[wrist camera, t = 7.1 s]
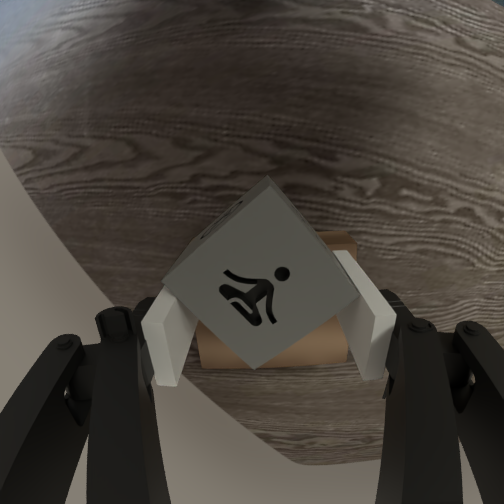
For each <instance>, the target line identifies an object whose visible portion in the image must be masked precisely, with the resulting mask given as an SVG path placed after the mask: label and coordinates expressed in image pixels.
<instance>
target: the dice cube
mask: <svg viewBox="0 0 504 504" xmlns="http://www.w3.org/2000/svg"><path fill="white" fill-rule="evenodd" d="M161 282H162V283H163V284H164V285H165V286H166V287H167V288H168V289H169V290H170V291H171V292H172V293H173V294H174V295H175V296H176V297H177V298H178V299H179V300H180V301H181V302H182V303H183V304H184V305H185V306H186V307H187V308H188V309H189V310H190V311H191V312H192V313H193V314H194V315H195V316H196V317H197V318H198V319H199V320H200V321H201V322H202V323H203V324H204V325H205V326H206V327H207V328H209V329H210V330H211V331H212V332H213V333H214V334H215V335H216V336H217V337H218V338H219V339H220V340H221V341H222V342H223V343H225V344H226V345H227V346H228V347H229V348H230V349H231V350H232V351H233V352H234V353H235V354H237V355H238V356H239V357H240V358H241V359H242V360H243V361H244V362H245V363H247V364H248V365H249V366H250V367H251V368H252V369H253V370H255V369H256V368H258V367H260V366H261V365H263V364H264V363H266V362H267V361H269V360H270V359H272V358H273V357H275V356H277V355H278V354H280V353H281V352H283V351H284V350H286V349H287V348H289V347H290V346H292V345H293V344H294V343H296V342H297V341H299V340H300V339H302V338H303V337H305V336H306V335H308V334H309V333H310V332H312V331H313V330H315V329H316V328H317V327H319V326H320V325H322V324H323V323H324V322H326V321H327V320H329V319H330V318H331V317H333V316H334V315H335V314H337V313H338V312H339V311H341V310H342V309H344V308H345V307H346V306H348V305H349V304H350V303H351V302H353V301H354V300H355V299H357V298H358V297H359V296H360V295H359V293H358V292H357V290H356V289H355V287H354V285H353V284H352V282H351V281H350V279H349V278H348V276H347V274H346V273H345V271H344V270H343V268H342V267H341V265H340V264H339V262H338V261H337V259H336V258H335V256H334V255H333V253H332V252H331V250H330V249H329V248H328V247H327V245H326V244H325V243H324V242H323V240H322V239H321V238H320V237H319V235H318V234H317V233H316V232H315V230H314V229H313V228H312V227H311V225H310V224H309V223H308V222H307V221H306V219H305V218H304V217H303V216H302V215H301V213H300V212H299V211H298V210H297V208H296V207H295V206H294V205H293V204H292V203H291V201H290V200H289V199H288V198H287V197H286V195H285V194H284V193H283V192H282V191H281V190H280V188H279V187H278V186H277V185H276V184H275V183H274V181H273V180H272V179H271V178H270V177H269V176H268V175H267V176H265V177H264V178H263V179H262V180H261V181H259V182H258V183H257V184H256V185H255V186H254V187H252V188H251V189H250V190H249V191H248V192H247V193H245V194H244V195H243V196H242V197H241V198H240V199H238V200H237V201H236V202H235V203H234V204H233V205H232V206H230V207H229V208H228V209H227V210H226V211H225V212H224V213H222V214H221V215H220V216H219V217H218V218H217V219H216V220H214V221H213V222H212V223H211V224H210V225H209V226H208V227H207V228H205V229H204V230H203V231H202V232H201V233H200V234H199V235H198V236H197V237H195V238H194V239H193V240H192V241H191V242H190V243H189V245H188V246H187V247H186V249H185V250H184V251H183V252H182V254H181V255H180V256H179V258H178V259H177V260H176V262H175V263H174V264H173V266H172V267H171V268H170V270H169V271H168V272H167V274H166V275H165V276H164V278H163V279H162V280H161Z"/></svg>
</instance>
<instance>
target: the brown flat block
mask: <svg viewBox="0 0 504 504" xmlns="http://www.w3.org/2000/svg"><path fill="white" fill-rule="evenodd" d="M316 233H317V234H318V235H319V237H320V238H321V239H322V240H323V242H324V243H325V244H326V245H327V247H328V248H329V249H330V250H331V252H332V251H338V250H347V251H348V252H349V254H350V255H351V256H352V257H353V259H354V260H355V261H356V256H357V243H356V242H355V241H354V240H353V239H352V238H351V237H350V236H349V234H348V233H347V232H346V231H322V232H316ZM194 238H195V237H193V239H194ZM193 239H192V240H193ZM192 240H191V241H192ZM191 241H190V242H191ZM188 245H189V244H188ZM185 249H186V248H185ZM195 332H196V338H197V344H198V349H199V355H200V360H201V366H202V369H242V368H251V367H250V366H249V365H248V364H247V363H245V362H244V361H243V360H242V359H241V358H240V357H239V356H238V355H237V354H235V353H234V352H233V351H232V350H231V349H230V348H229V347H228V346H227V345H226V344H225V343H223V342H222V341H221V340H220V339H219V338H218V337H217V336H216V335H215V334H214V333H213V332H212V331H211V330H210V329H209V328H207V327H206V326H205V325H204V324H203V323H202V322H201V321H200V320H198V323H197V326H196V329H195ZM347 352H348V342H347V340H346V337H345V335H344V332H343V330H342V328H341V325H340V323H339V320H338V318H337V316H336V314H335V315H334V316H333V317H331V318H330V319H329V320H327V321H326V322H324V323H323V324H322V325H320V326H319V327H317V328H316V329H315V330H313V331H312V332H310V333H309V334H308V335H306V336H305V337H303V338H302V339H300V340H299V341H297V342H296V343H294V344H293V345H292V346H290V347H289V348H287V349H286V350H284V351H283V352H281V353H280V354H278V355H277V356H275V357H273V358H272V359H270V360H269V361H267V362H266V363H264V364H263V365H261V366H260V367H258V368H273V367H292V366H307V365H319V364H330V363H340V362H346V359H347Z"/></svg>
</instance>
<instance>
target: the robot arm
mask: <svg viewBox="0 0 504 504" xmlns="http://www.w3.org/2000/svg"><path fill="white" fill-rule="evenodd" d="M492 1H494V2H495V3H497V4H499V5H501V6H503V7H504V0H492ZM332 253H333V255H334V256H335V258H336V259H337V261H338V262H339V264H340V265H341V267H342V268H343V270H344V271H345V273H346V274H347V276H348V278H349V279H350V281H351V282H352V284H353V285H354V287H355V289H356V290H357V292H358V293H359V295H360V296H359V297H358V298H357V299H355V300H354V301H353V302H351V303H350V304H349V305H348V306H346V307H345V308H344V309H342V310H341V311H339V312H338V313H337V314H336V316H337V318H338V320H339V323H340V325H341V328H342V330H343V332H344V335H345V337H346V340H347V342H348V344H349V347H350V349H351V352H352V354H353V357H354V359H355V362H356V364H357V367H358V369H359V372H360V374H361V377H362V379H363V381H367V380H375V379H382V378H383V374H384V370H385V366H386V368H387V370H388V372H389V377H388V381H387V384H386V388H385V391H384V395H383V398H382V399H385V398H386V411H385V426H384V438H383V449H382V458H381V467H380V475H379V483H378V489H377V495H376V501H375V504H463V494H462V493H463V492H462V474H461V461H460V450H459V441H458V436H459V439H460V441H461V444H462V446H463V448H464V451H465V454H466V456H467V459H468V461H469V464H470V467H471V469H472V472H473V475H474V478H475V480H476V483H477V486H478V489H479V492H480V495H481V498H482V501H483V504H504V350H503V349H502V347H501V346H500V345H499V344H498V342H497V341H496V340H495V339H494V338H493V336H492V335H491V334H490V333H489V332H488V331H487V329H486V328H484V327H483V326H482V325H480V324H478V323H477V322H473V321H463V322H459V323H458V324H457V325H456V329H455V332H454V333H444V332H437V330H436V327H435V326H434V324H432V323H431V322H430V321H427V320H425V319H421V318H415V317H414V316H413V315H412V313H411V312H410V311H409V310H408V308H407V307H406V306H404V304H403V302H402V301H401V300H400V299H399V298H398V296H397V295H396V294H394V293H393V292H391V291H389V290H387V289H385V290H378V289H377V288H376V286H375V285H374V284H373V283H372V281H371V280H370V279H369V277H368V276H367V275H366V274H365V272H364V271H363V270H362V269H361V267H360V266H359V265H358V264H357V262H356V261H355V260H354V259H353V257H352V256H351V255H350V254H349V252H348V251H347V250H338V251H332ZM95 320H96V324H97V327H98V331H99V334H100V337H101V342H100V343H98V344H91V345H82V342H81V339H80V337H79V336H77V335H74V334H64V335H60V336H58V337H57V338H55V339H53V340H52V341H51V342H50V343H49V345H48V346H47V347H46V348H45V350H44V351H43V352H42V354H41V355H40V356H39V358H38V359H37V361H36V362H35V363H34V365H33V366H32V367H31V369H30V370H29V372H28V373H27V375H26V376H25V377H24V379H23V380H22V382H21V383H20V385H19V386H18V387H17V389H16V390H15V392H14V393H13V395H12V397H11V398H10V399H9V401H8V403H7V404H6V405H5V407H4V409H3V410H2V412H1V413H0V504H65V501H66V498H67V495H68V491H69V488H70V485H71V482H72V479H73V476H74V473H75V470H76V467H77V464H78V462H79V459H80V456H81V453H82V450H83V448H84V445H85V442H86V439H87V437H88V434H89V439H88V454H87V491H86V494H87V504H171V501H170V496H169V492H168V487H167V481H166V476H165V471H164V465H163V460H162V454H161V447H160V441H159V434H158V427H157V420H156V411H155V403H154V394H153V389H152V386H151V380H152V377H153V375H154V376H155V379H156V383H157V385H159V386H174V387H177V385H178V382H179V379H180V376H181V373H182V369H183V366H184V363H185V360H186V357H187V354H188V351H189V348H190V345H191V341H192V338H193V335H194V332H195V329H196V326H197V323H198V320H199V319H198V318H197V317H196V316H195V315H194V314H193V313H192V312H191V311H190V310H189V309H188V308H187V307H186V306H185V305H184V304H183V303H182V302H181V301H180V300H179V299H178V298H177V297H176V296H175V295H174V294H173V293H172V292H171V291H170V290H169V289H168V288H167V287H166V286H165V285H164V287H163V288H162V290H161V291H160V293H159V295H158V296H157V297H147V298H145V299H144V300H142V301H141V302H139V303H138V305H137V306H136V307H135V310H133V312H132V311H131V310H130V309H129V308H127V307H122V306H121V307H112V308H108V309H105V310H103V311H101V312H100V313H98V314H97V315H96V317H95ZM473 374H474V376H475V381H476V382H475V383H473V382H472V380H471V378H472V376H473ZM65 390H66V392H67V393H66V395H65V396H64V392H65Z"/></svg>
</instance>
